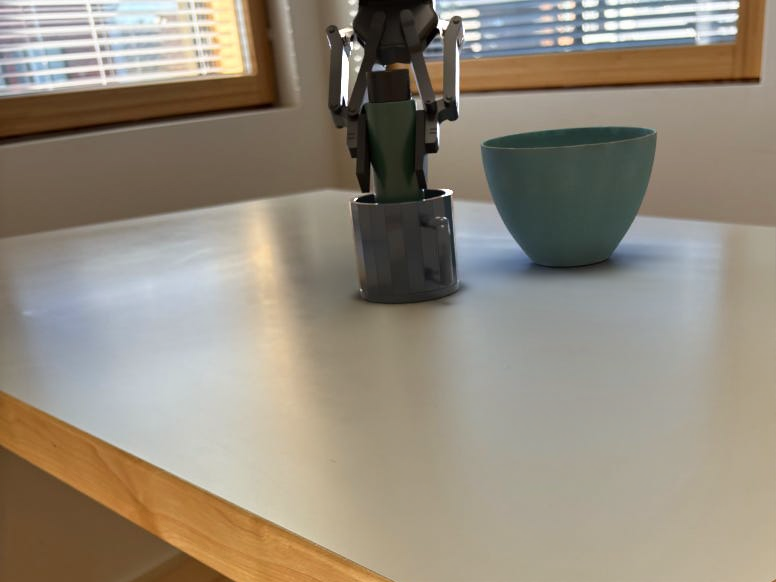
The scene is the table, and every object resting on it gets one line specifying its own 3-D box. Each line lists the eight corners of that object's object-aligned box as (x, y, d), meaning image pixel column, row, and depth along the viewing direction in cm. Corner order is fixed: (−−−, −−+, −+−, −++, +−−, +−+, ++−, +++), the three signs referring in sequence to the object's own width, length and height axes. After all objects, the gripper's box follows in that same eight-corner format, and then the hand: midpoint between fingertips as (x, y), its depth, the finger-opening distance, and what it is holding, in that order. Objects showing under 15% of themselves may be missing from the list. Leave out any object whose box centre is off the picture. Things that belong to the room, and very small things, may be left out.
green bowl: (675, 267, 106) (678, 134, 99) (499, 284, 104) (492, 151, 98) (631, 238, 121) (632, 122, 115) (478, 252, 120) (471, 136, 114)
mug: (344, 292, 106) (332, 198, 102) (429, 276, 110) (421, 185, 106) (405, 314, 96) (394, 211, 91) (496, 295, 100) (490, 196, 96)
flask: (369, 222, 102) (352, 72, 95) (412, 215, 104) (398, 68, 97) (391, 227, 98) (375, 72, 92) (434, 220, 100) (422, 67, 94)
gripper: (490, 3, 104) (490, 202, 99) (317, 16, 106) (308, 213, 100) (483, -64, 97) (483, 146, 91) (298, -48, 99) (287, 159, 93)
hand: (392, 181), depth 96 cm, fingers closed on flask, 5 cm apart
